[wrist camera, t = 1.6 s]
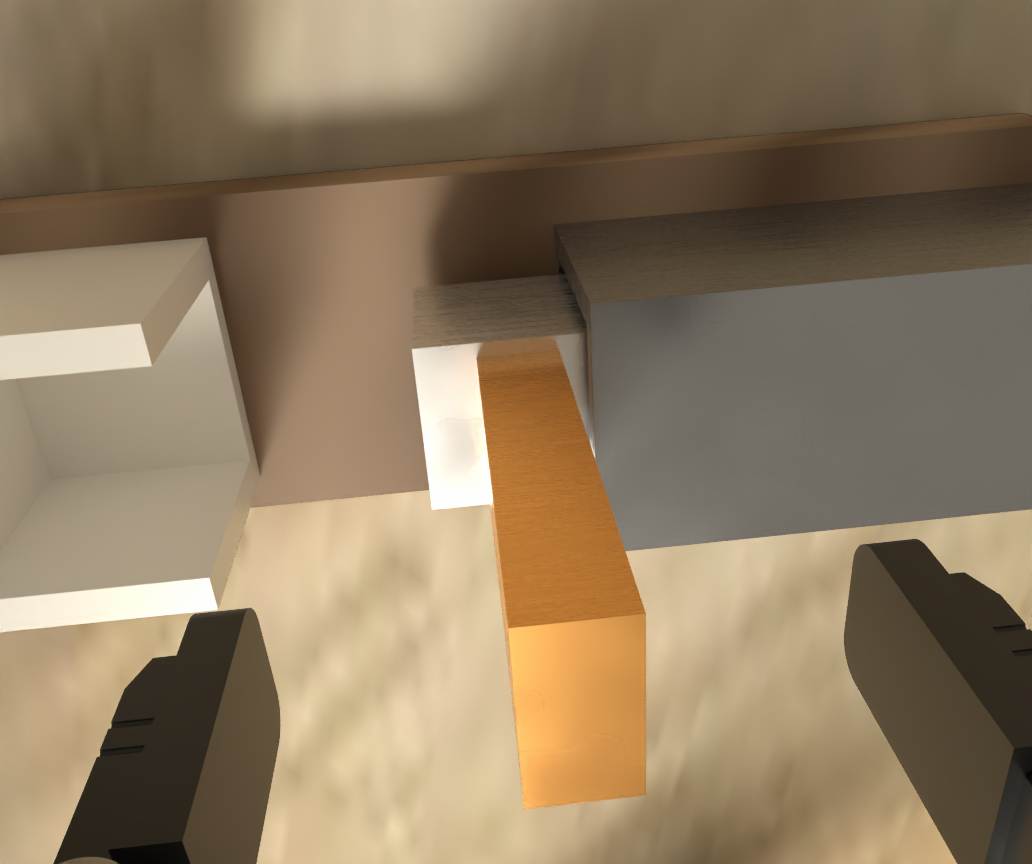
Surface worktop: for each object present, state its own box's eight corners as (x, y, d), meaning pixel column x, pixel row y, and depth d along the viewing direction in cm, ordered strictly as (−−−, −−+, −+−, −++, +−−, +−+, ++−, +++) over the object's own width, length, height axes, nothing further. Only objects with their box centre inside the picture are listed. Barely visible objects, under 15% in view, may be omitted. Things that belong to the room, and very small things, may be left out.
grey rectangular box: (1049, 181, 22) (1223, 246, 17) (1007, 389, 24) (1148, 497, 20) (553, 224, 21) (590, 304, 16) (564, 432, 24) (598, 554, 19)
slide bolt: (1043, 230, 21) (1609, 491, 11) (1014, 373, 23) (1483, 713, 13) (414, 287, 21) (400, 618, 10) (431, 429, 22) (435, 835, 12)
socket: (206, 237, 21) (140, 323, 16) (260, 476, 24) (217, 609, 19) (-45, 258, 21) (-188, 352, 16) (40, 497, 23) (-59, 638, 19)
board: (1023, 113, 23) (1060, 123, 21) (969, 408, 26) (998, 433, 25) (-30, 201, 21) (-60, 218, 20) (71, 497, 25) (50, 527, 24)
